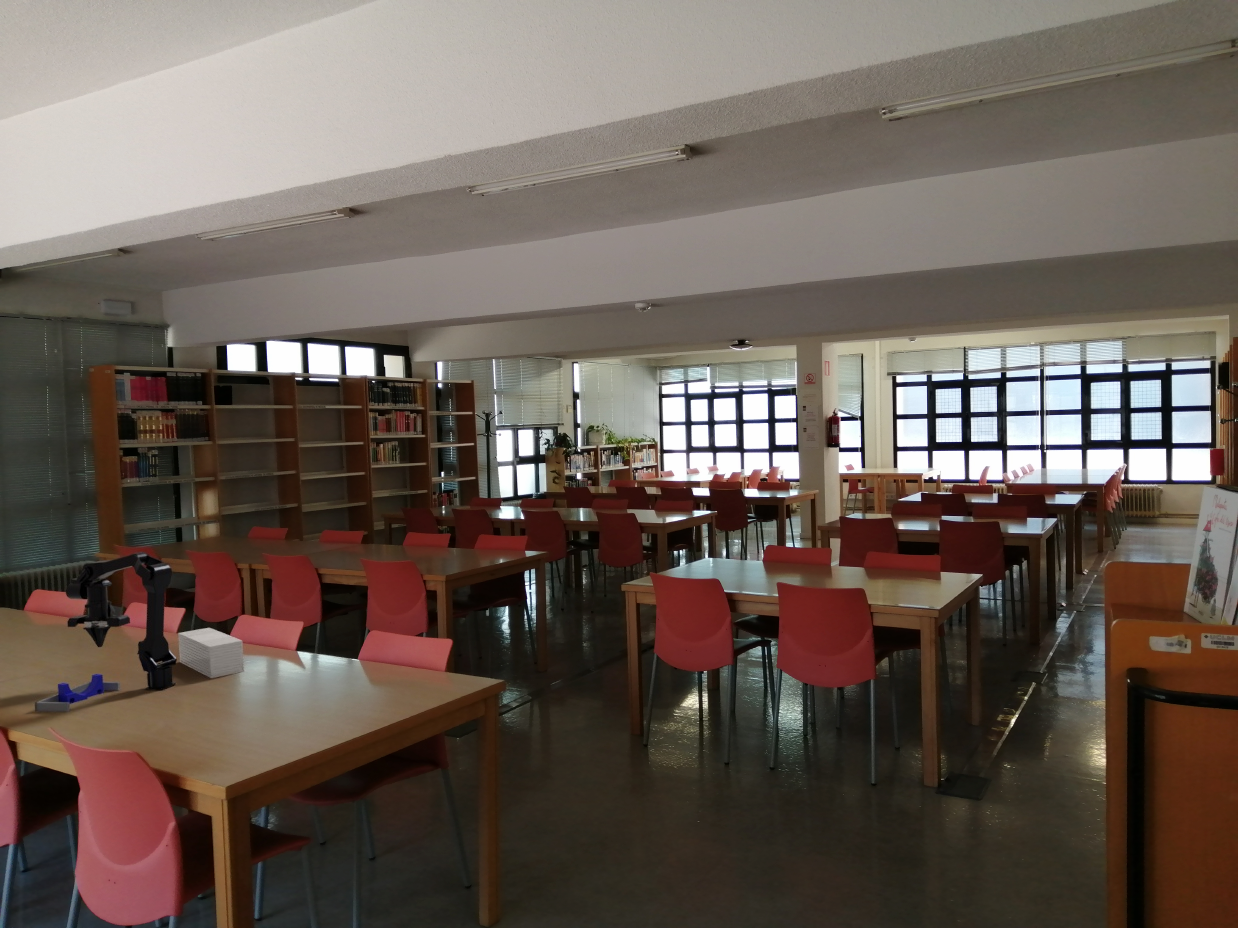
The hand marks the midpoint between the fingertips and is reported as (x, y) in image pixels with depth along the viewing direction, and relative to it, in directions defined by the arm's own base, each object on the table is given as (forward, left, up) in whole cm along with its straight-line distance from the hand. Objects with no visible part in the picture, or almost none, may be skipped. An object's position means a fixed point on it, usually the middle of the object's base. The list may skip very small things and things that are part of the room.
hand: (100, 646), depth 288 cm
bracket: (-7, +18, -12) cm, 23 cm away
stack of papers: (-25, -21, -12) cm, 35 cm away
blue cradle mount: (-6, +16, -12) cm, 21 cm away
